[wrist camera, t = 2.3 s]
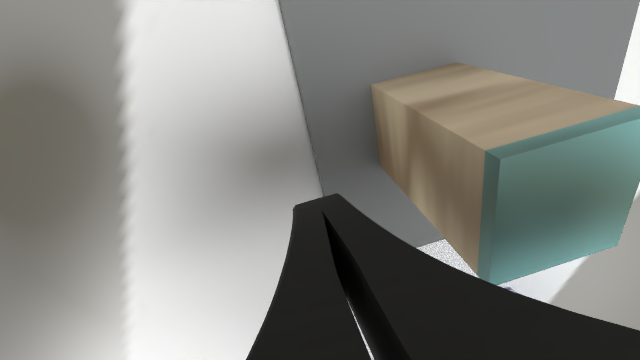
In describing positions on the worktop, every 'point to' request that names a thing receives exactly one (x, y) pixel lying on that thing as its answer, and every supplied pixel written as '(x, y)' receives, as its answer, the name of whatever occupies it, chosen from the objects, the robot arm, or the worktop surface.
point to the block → (510, 165)
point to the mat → (427, 53)
